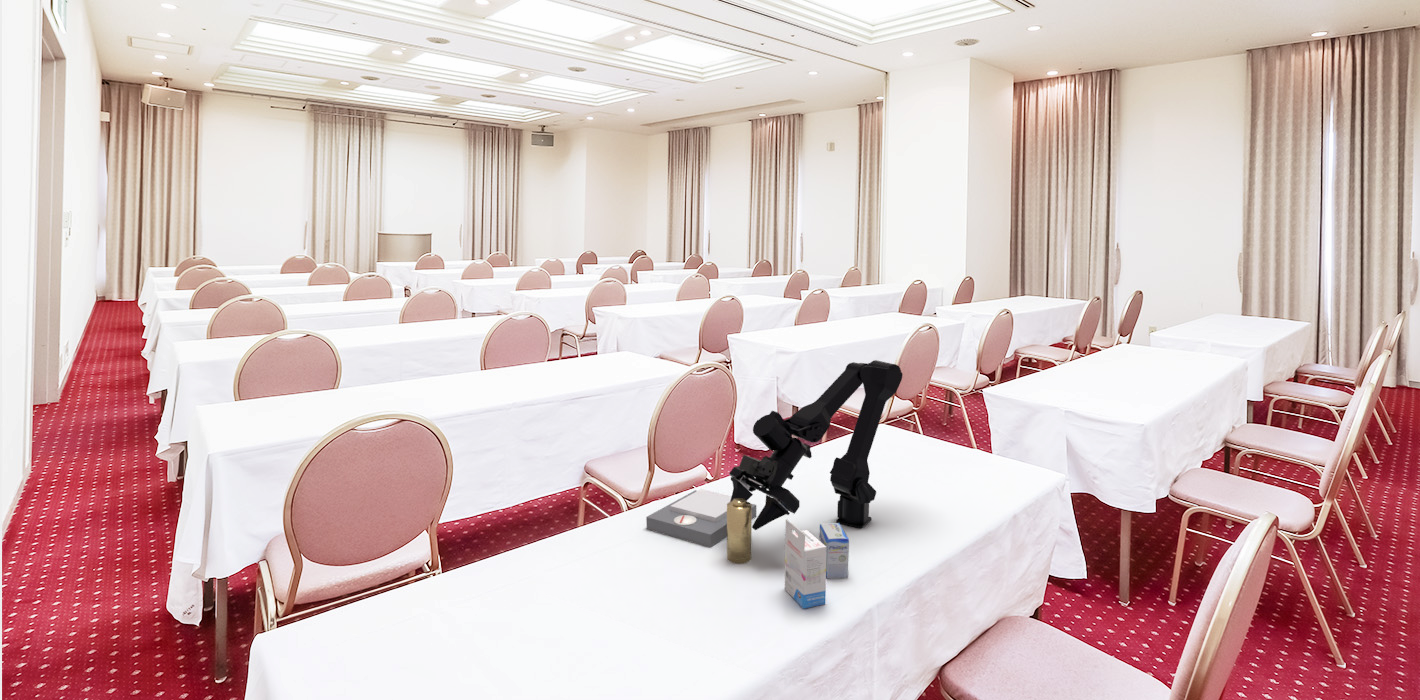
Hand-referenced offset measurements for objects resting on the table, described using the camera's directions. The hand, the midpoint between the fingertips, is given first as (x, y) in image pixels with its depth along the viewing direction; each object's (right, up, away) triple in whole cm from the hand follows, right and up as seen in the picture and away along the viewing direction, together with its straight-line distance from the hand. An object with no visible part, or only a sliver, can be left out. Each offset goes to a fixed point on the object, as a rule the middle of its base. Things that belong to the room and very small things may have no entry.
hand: (740, 521), depth 158 cm
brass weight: (0, -8, +1) cm, 8 cm away
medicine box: (+19, -9, -4) cm, 21 cm away
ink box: (+12, -11, -15) cm, 22 cm away
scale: (-8, -5, +20) cm, 22 cm away
